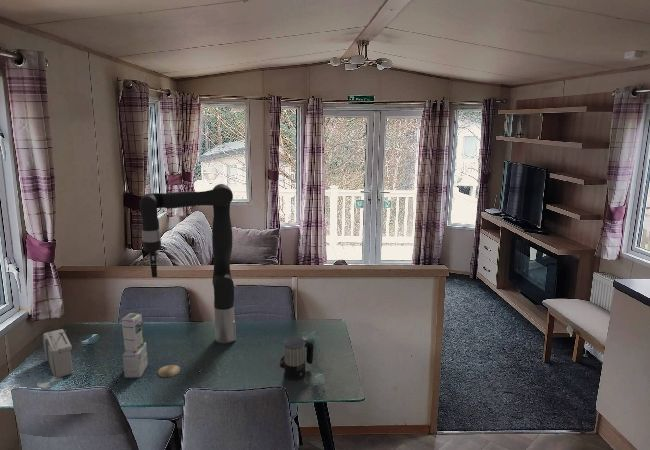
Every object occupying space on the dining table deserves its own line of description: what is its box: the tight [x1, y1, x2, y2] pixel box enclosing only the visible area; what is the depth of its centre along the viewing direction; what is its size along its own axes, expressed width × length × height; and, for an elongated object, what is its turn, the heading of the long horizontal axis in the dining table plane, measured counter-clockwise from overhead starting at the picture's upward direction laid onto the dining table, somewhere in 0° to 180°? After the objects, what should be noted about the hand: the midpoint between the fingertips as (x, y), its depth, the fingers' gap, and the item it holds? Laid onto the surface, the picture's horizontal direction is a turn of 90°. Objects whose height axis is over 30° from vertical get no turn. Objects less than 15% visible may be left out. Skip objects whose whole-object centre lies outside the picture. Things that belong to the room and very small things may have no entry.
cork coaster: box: [157, 364, 181, 378], centre depth 206 cm, size 9×9×1 cm
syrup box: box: [121, 312, 145, 351], centre depth 202 cm, size 6×6×14 cm
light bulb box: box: [122, 341, 149, 378], centre depth 205 cm, size 11×7×11 cm, turn 3°
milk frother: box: [279, 337, 314, 381], centre depth 206 cm, size 14×16×15 cm
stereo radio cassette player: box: [42, 328, 74, 379], centre depth 206 cm, size 21×8×20 cm, turn 37°
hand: (154, 273), depth 218 cm, fingers open, 8 cm apart
